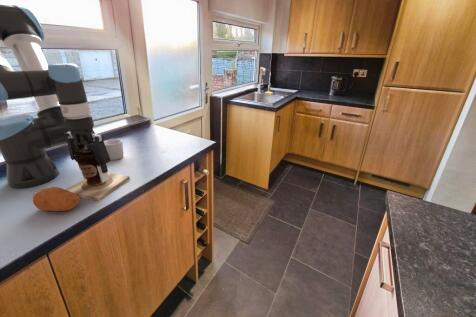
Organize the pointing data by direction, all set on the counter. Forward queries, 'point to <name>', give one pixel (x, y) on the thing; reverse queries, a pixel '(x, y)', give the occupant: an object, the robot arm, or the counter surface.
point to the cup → (114, 148)
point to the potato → (55, 199)
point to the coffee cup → (88, 165)
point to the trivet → (98, 187)
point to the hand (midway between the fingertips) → (96, 178)
